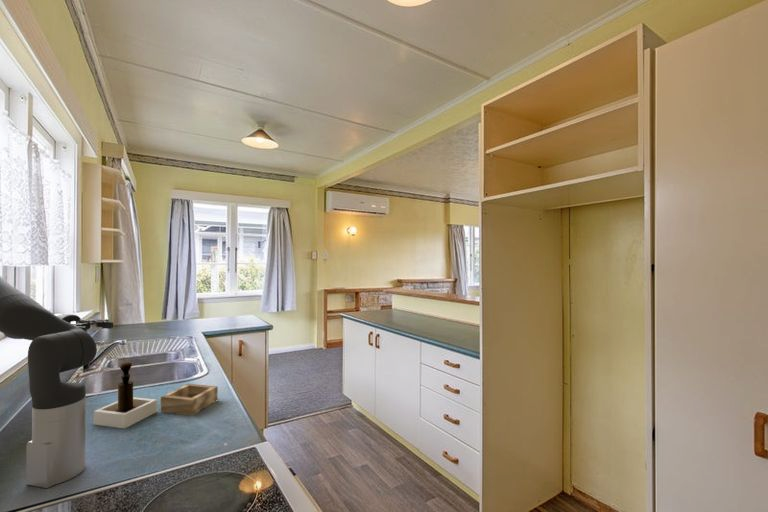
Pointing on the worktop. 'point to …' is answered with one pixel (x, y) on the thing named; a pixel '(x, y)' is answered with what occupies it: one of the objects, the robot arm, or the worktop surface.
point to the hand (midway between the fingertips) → (99, 327)
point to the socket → (189, 399)
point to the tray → (124, 420)
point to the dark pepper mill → (125, 389)
